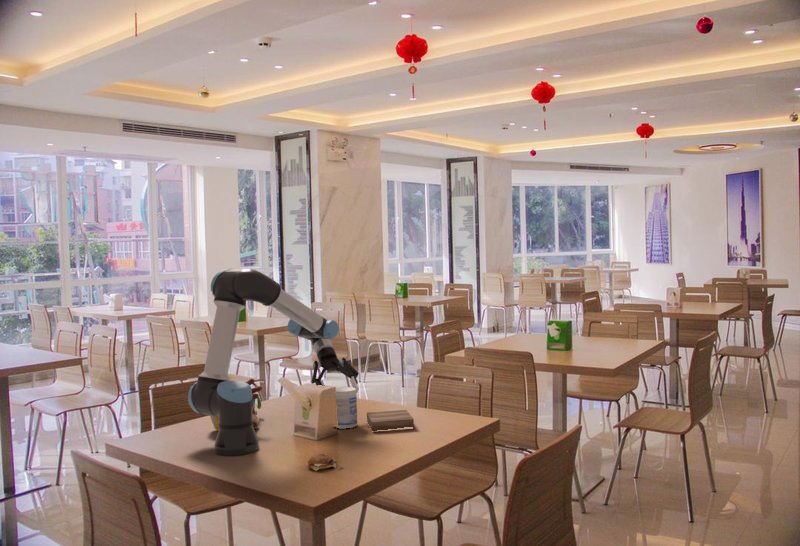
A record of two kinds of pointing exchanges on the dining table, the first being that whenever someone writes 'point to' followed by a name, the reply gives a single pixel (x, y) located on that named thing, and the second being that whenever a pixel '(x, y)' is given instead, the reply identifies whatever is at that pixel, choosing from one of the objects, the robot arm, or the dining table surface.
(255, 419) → the bucket of meat
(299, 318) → the robot arm
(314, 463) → the hamburger
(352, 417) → the supplement tub
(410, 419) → the walnut stand
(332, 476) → the dining table surface
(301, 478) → the dining table surface
